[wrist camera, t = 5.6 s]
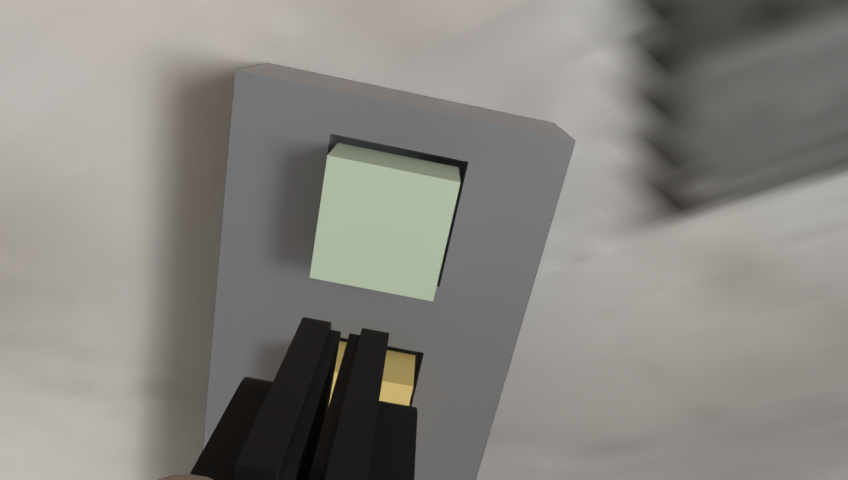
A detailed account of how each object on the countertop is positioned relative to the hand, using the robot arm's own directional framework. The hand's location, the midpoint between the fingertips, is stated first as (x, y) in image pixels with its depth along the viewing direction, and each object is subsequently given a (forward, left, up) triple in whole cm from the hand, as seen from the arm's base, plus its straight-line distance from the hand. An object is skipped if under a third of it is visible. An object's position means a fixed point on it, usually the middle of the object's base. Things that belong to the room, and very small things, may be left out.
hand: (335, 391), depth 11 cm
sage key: (0, 0, -11) cm, 11 cm away
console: (0, +8, -15) cm, 17 cm away
